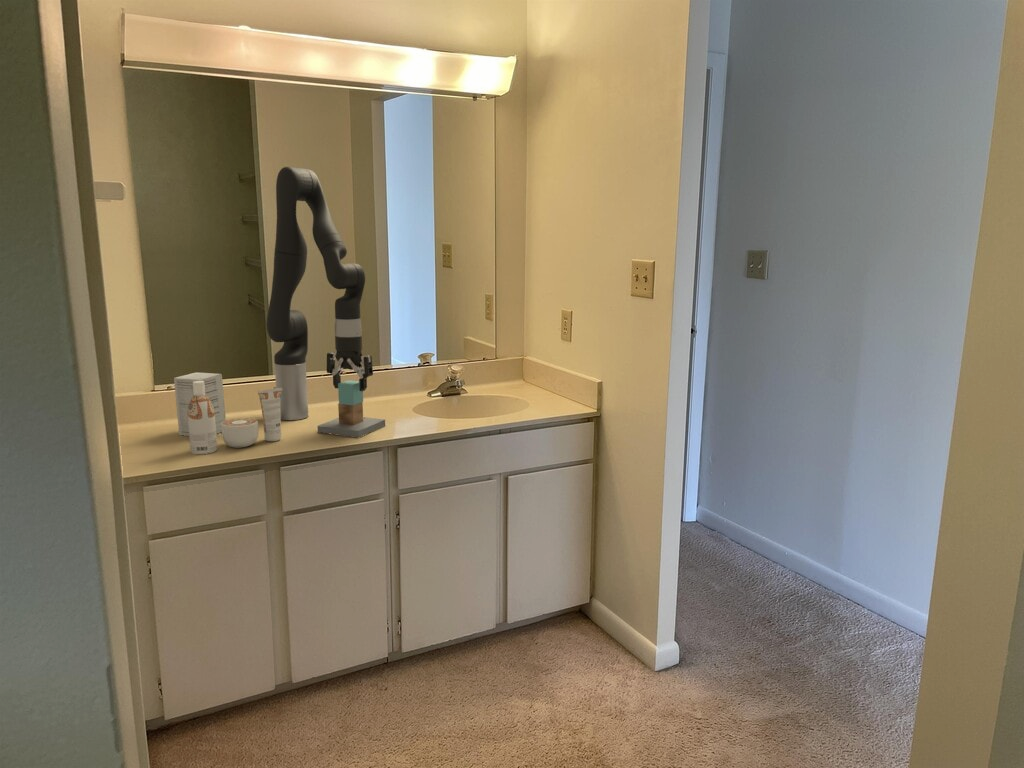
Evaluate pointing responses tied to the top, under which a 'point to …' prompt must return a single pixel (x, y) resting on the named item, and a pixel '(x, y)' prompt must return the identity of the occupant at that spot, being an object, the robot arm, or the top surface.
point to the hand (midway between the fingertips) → (350, 389)
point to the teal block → (349, 393)
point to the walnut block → (350, 414)
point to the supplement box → (186, 393)
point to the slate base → (351, 427)
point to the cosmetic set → (230, 422)
